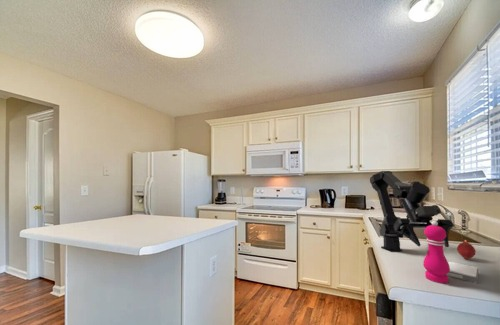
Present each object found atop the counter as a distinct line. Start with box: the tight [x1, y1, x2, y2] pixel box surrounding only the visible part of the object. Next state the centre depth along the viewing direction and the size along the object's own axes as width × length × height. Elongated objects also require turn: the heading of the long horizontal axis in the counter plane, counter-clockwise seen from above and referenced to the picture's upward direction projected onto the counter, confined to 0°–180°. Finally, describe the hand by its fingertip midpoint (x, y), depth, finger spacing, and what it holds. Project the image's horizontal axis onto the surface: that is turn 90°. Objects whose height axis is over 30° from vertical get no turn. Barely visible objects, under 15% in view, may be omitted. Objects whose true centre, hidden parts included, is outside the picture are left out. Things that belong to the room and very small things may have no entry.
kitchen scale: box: [446, 260, 479, 284], centre depth 85 cm, size 11×11×2 cm
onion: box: [456, 239, 477, 260], centre depth 100 cm, size 6×6×8 cm
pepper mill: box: [423, 220, 450, 284], centre depth 81 cm, size 7×7×20 cm
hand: (433, 246), depth 82 cm, fingers open, 9 cm apart
